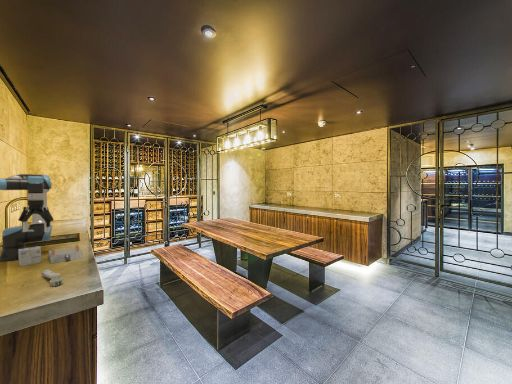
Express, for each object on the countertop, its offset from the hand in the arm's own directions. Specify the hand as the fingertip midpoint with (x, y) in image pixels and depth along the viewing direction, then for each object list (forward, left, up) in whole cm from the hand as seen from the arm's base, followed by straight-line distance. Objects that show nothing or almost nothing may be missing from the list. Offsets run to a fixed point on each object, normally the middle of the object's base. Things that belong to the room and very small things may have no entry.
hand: (36, 231), depth 149 cm
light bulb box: (-14, -3, -24) cm, 28 cm away
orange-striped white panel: (-12, +16, -24) cm, 31 cm away
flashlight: (+34, +5, -24) cm, 42 cm away
